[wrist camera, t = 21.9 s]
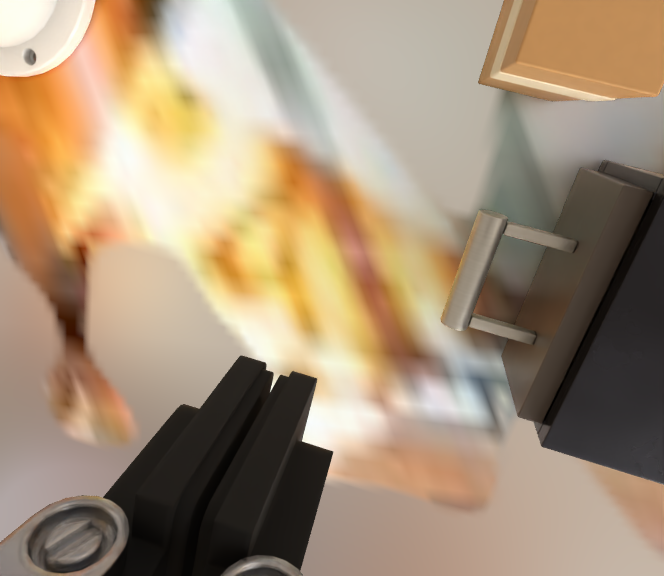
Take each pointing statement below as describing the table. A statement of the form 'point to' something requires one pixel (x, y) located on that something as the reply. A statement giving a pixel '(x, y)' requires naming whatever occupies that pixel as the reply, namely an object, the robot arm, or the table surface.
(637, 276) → the cabinet
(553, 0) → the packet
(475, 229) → the drawer
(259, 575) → the robot arm
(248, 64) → the table surface
